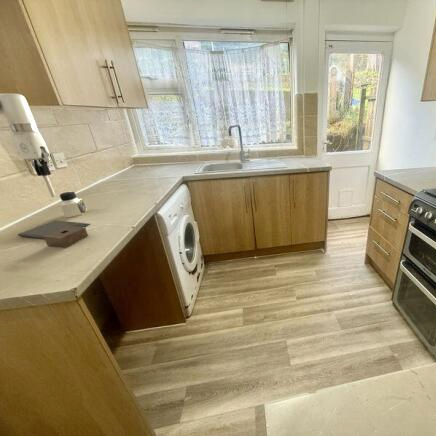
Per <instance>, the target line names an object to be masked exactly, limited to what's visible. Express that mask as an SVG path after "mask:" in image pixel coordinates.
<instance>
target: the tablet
mask: <svg viewBox="0 0 436 436" xmlns="http://www.w3.org/2000/svg"><path fill="white" fill-rule="evenodd" d="M90 224H91V223H85V222H77V221H67V220H66V221H65V220H57V219H56V220H52V221H50V222H46V223H44V224H41V225H38V226H36V227H33V228H30V229H27V230H25V231H23V232H20V233H17V237H24V238H32V239H38V240H39V239H40V240H45V239H44V237H43V236H44V235H47V234H49V233H52V232H54V231H57V230H59V229H62V228H64V227H67V226H73V227H82V228H83V227H85V228H86V226H87V227H89V226H91V225H90ZM88 225H89V226H88Z"/></svg>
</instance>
